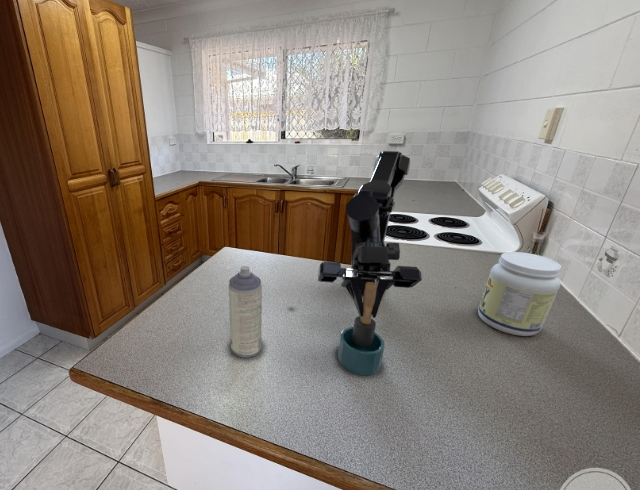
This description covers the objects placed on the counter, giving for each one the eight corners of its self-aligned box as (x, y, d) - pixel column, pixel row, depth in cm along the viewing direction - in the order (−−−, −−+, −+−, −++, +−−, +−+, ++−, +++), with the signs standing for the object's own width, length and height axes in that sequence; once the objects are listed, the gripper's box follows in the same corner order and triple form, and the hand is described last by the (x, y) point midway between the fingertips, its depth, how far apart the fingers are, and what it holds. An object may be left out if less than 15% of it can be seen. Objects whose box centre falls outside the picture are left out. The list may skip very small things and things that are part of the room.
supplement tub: (481, 303, 85) (501, 246, 78) (541, 321, 77) (568, 259, 70) (471, 322, 77) (491, 260, 70) (537, 345, 69) (566, 278, 62)
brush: (356, 331, 66) (364, 277, 61) (375, 339, 64) (385, 283, 59) (348, 340, 64) (356, 285, 58) (368, 349, 61) (378, 291, 56)
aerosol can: (255, 335, 74) (255, 259, 66) (265, 354, 68) (266, 273, 60) (228, 340, 72) (224, 263, 65) (234, 360, 66) (232, 277, 59)
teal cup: (347, 342, 71) (350, 322, 69) (385, 358, 66) (390, 337, 64) (331, 362, 65) (333, 341, 63) (371, 382, 60) (375, 359, 58)
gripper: (323, 223, 60) (321, 303, 54) (429, 227, 57) (439, 313, 51) (318, 246, 70) (316, 315, 64) (408, 250, 67) (414, 324, 61)
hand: (367, 316), depth 60 cm, fingers closed on brush, 2 cm apart
